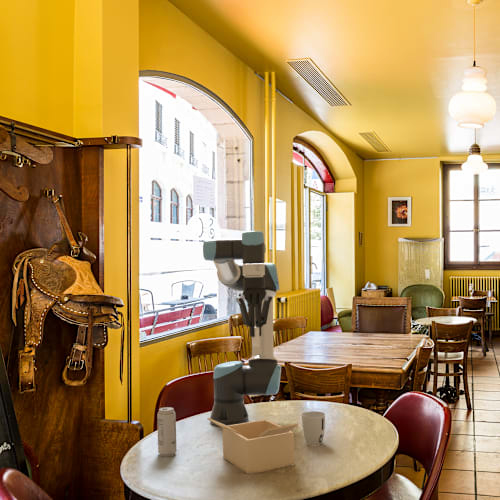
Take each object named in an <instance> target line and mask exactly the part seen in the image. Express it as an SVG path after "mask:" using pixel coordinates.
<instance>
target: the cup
mask: <svg viewBox="0 0 500 500" xmlns="http://www.w3.org/2000/svg"><path fill="white" fill-rule="evenodd" d="M301 421H302V422H301V423H302V425H301V426H302V430H303V434H304V439H305V442H306V444H307V445H308V444H309V445H308V446H311V445H317V446H321V445H322V444H323V442H324V441H323V440H324V436H325V428H326V413H325V412H322V411H313V410H311V411H305V412H302V413H301ZM320 444H321V445H320Z"/></svg>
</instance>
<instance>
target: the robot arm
mask: <svg viewBox="0 0 500 500" xmlns="http://www.w3.org/2000/svg"><path fill="white" fill-rule="evenodd" d="M266 252H267V251H266V244H265V235H264V232H263V231H262V230H247V231H243V232H242V233H241V238H218V239H217V238H212V239H205V240H204V241H203V245H202V253H203V256H202V257H203V259H204V261H210V262H213V264H214V266H215V268H216V275H217V278H218V280H219V282H220V283H221V284H222V285H224V286H225V287H226V288H228V289H231V290H233V291H238V292H242V294H241V296H240V297H237V298H236V303H237V304H238V305H239V309H240V314H241V317H242V322H243V325H244V326H246V327H249V330H248V331H249V332H248V333H249V337H250V338H251V349H252V350H251V357H250V358H249V359H248V364H245V365H244V363H243V361H242V360H235V361H233V360H232V361H226V362H223V363H219V364H217V365H216V366H214V368H213V402H214V403H213V406H212V410H211V413H210V416H209V417H210V419H212V420H215V421H217V422H219V423H222V424H224V425H226V426H228V425H234V424H241V423H247V422H250V420H249V413H248V410H247V408H246V405H245V401H244V396H270V395H272V396H273V395H277V394H278V392H279V390H280V383H281V375H282V372H281V371H282V365H281V364H279V363H278V359H277V358H276V357H275V356H274V354H275V353H274V351H275V350H274V312H273V310H274V307H273V306H274V304H273V303H274V302H273V299H274V298H275V296H277V292H278V291H279V290H280V284H279V276H278V270H277V265H276V264H275V263H273V262H266V261H265V253H266ZM235 260H236V261H237V260H238V261H239V260H241V261H242V263H236V261H235ZM245 302H246V303H247V305H246V303H245ZM209 423H210V424H211V425H213V426H215V427H219V426H218V425H217V424H215V423H213V422H211V421H210V420H209Z"/></svg>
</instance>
